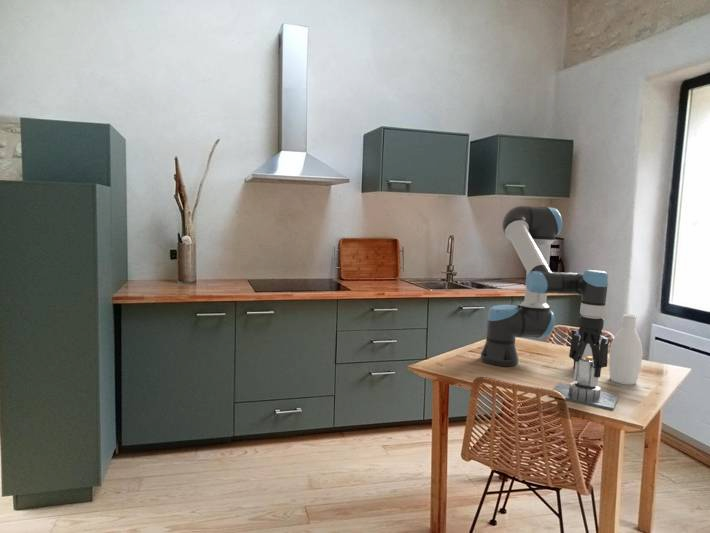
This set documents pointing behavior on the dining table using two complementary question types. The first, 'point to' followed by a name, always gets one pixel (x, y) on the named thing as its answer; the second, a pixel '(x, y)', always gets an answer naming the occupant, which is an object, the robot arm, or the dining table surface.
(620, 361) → the bottle
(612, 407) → the flange plate
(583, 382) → the block
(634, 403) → the dining table surface
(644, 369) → the dining table surface
